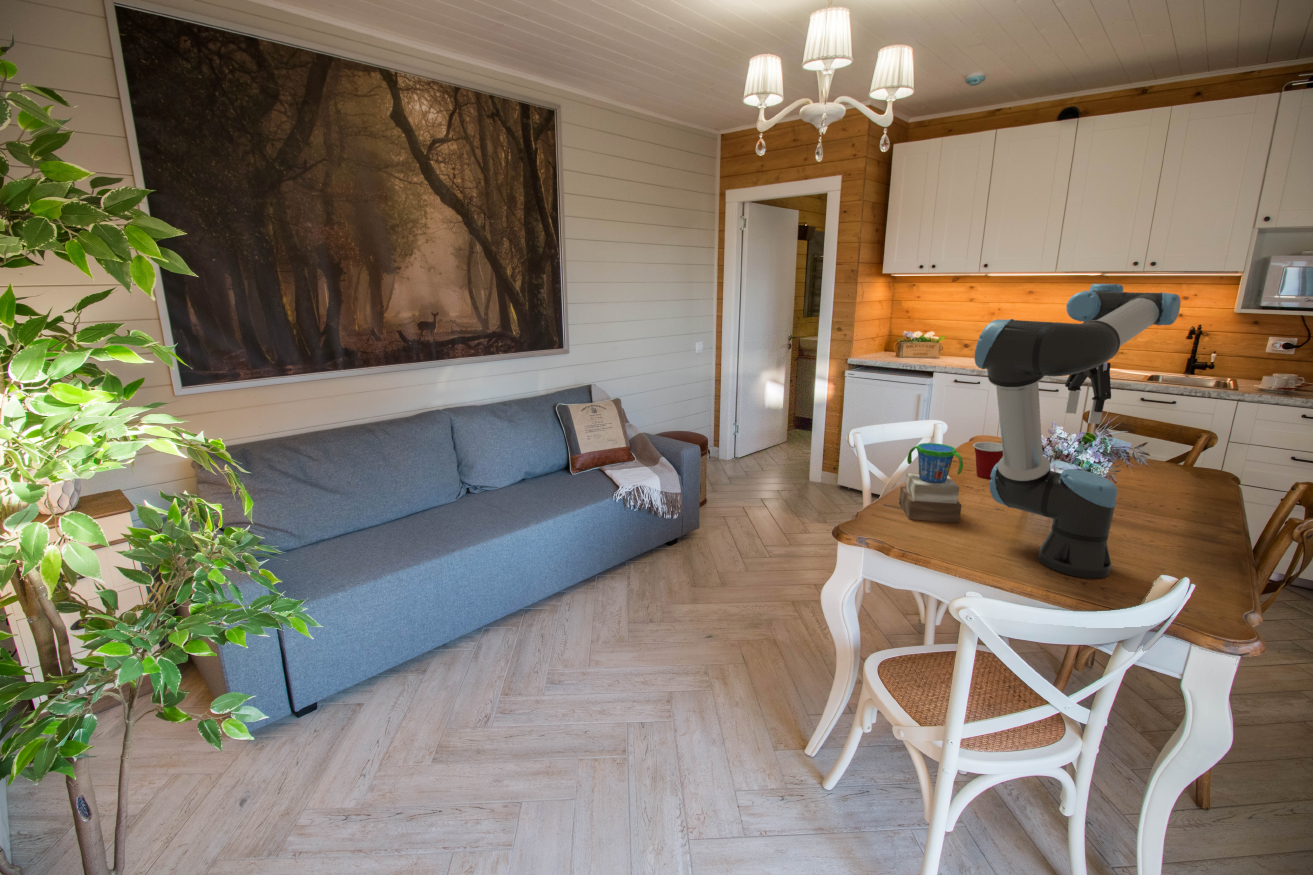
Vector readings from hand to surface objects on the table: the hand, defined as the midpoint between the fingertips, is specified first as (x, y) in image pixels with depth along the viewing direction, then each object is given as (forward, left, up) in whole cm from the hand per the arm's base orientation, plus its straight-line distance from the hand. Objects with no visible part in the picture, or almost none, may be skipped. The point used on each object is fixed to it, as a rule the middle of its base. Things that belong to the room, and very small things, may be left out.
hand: (1081, 418), depth 175 cm
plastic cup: (+44, +7, -32) cm, 55 cm away
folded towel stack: (+1, +37, -32) cm, 49 cm away
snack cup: (+1, +37, -21) cm, 43 cm away
